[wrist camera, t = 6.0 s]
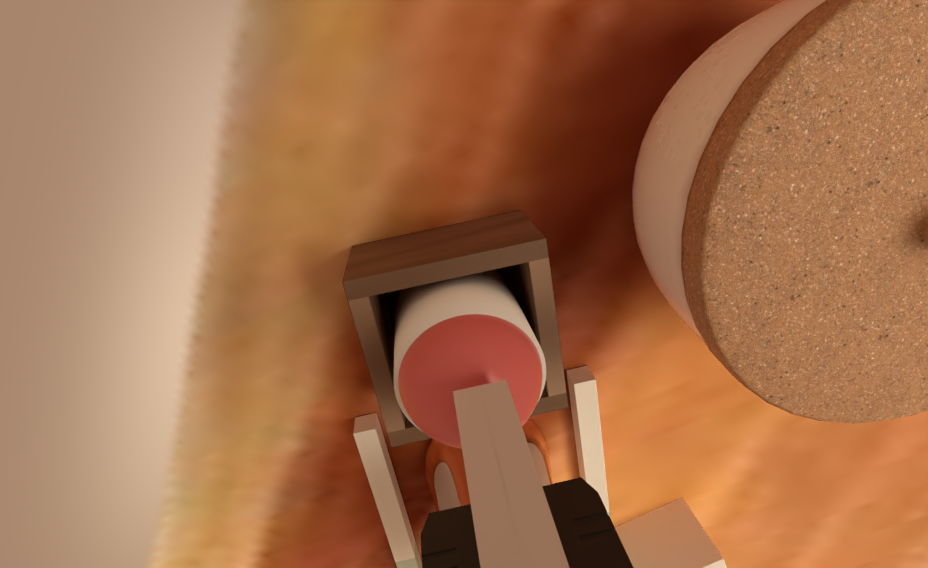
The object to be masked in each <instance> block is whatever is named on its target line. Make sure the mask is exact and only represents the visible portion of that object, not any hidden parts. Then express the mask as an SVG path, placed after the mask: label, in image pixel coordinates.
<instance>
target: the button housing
mask: <svg viewBox="0 0 928 568" xmlns="http://www.w3.org/2000/svg"><path fill="white" fill-rule="evenodd" d="M512 265H513V270H514V276H515V283H516V289H517V295H518V302H519V306H520V308H521V310H522V312H523V314H524V315H525V317H526V319H527V321H528V323H529V325H530V327H531V329H532V331H533V333H534V335H535V337H536V339H537V341H538V343H539V345H540V346H541V349H542V351H543V354H544V358H545V362H546V381H545V386H544V390H543V392H542V395H541V397H540V399H539V401H538V403H537V405H536V407H535V409H534V411H533V413H532V415H531V416H533V415H538V414H542V413H546V412H551V411H555V410H560V409H564V408H568V401H567V393H566V385H565V378H564V370H563V362H562V355H561V347H560V339H559V332H558V324H557V316H556V309H555V301H554V293H553V286H552V278H551V271H550V263H549V255H548V248H547V240H546V238H545V236H544V235H543V234H542V233H541V232H540V231H539V230H538V229H537V227H536V226H535V225H534V224H533V223H532V222H531V221H530V220H529V218H528V217H527V216H526V215H525V214H524V213H523V212H522V211H521V210H520V211H515V212H510V213H506V214H501V215H496V216H491V217H487V218H482V219H477V220H473V221H468V222H463V223H458V224H454V225H449V226H444V227H440V228H435V229H430V230H425V231H421V232H416V233H411V234H407V235H402V236H397V237H392V238H388V239H383V240H378V241H374V242H369V243H364V244H359V245H355V246H352V249H351V252H350V256H349V260H348V263H347V267H346V271H345V274H344V278H343V282H342V283H343V286H344V289H345V293H346V296H347V299H348V303H349V306H350V310H351V313H352V316H353V320H354V323H355V326H356V330H357V333H358V336H359V340H360V343H361V346H362V350H363V353H364V357H365V360H366V363H367V367H368V370H369V373H370V377H371V380H372V383H373V387H374V390H375V393H376V397H377V400H378V404H379V407H380V410H381V414H382V417H383V420H384V424H385V427H386V430H387V434H388V437H389V440H390V444H391V447H396V446H401V445H405V444H409V443H414V442H418V441H423V440H427V439H431V438H430V437H429V436H428V435H426V434H425V433H424V432H422V431H421V430H419V429H418V428H417V427H415V426H414V425H413V424H412V423H411V422H410V421H409V420H408V419H407V417H406V416H405V415H404V413H403V412H402V410H401V408H400V406H399V404H398V402H397V399H396V396H395V391H394V333H393V329H392V325H391V322H390V318H389V314H388V310H387V307H386V303H385V299H384V295H383V293H387V292H392V291H396V290H401V289H406V288H410V287H415V286H420V285H424V284H429V283H434V282H438V281H443V280H447V279H452V278H457V277H461V276H466V275H471V274H475V273H480V272H484V271H489V270H494V269H498V268H503V267H508V266H512Z"/></svg>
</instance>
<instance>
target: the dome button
mask: <svg viewBox="0 0 928 568" xmlns="http://www.w3.org/2000/svg"><path fill="white" fill-rule="evenodd" d="M502 380H507V383H508V386H509V389H510V392H511V395H512V398H513V401H514V404H515V407H516V410H517V413H518V416H519V419H520V422H521V425H522V426H523V425H524V424H525V423H526V422H527V420H528V419H529V418H530V416H531V415H532V413H533V411H534V409H535V407H536V405H537V403H538V401H539V399H540V397H541V395H542V392H543V390H544V386H545V381H546V362H545V358H544V354H543V351H542V349H541V346H540V345H539V343H538V341H537V339H536V337H535V335H534V333H533V331H532V329H531V327H530V325H529V323H528V321H527V319H526V317H525V315H524V314H523V312H522V310H521V308H520V306H519V304H518V302H517V300H516V298H515V296H514V294H513V292H512V290H511V288H510V287H509V285H508V283H507V282H506V280H505V279H504V278H503V277H502V276H501V275H500V274H499V273H498V272H497V271H496V270H495V269H494V270H489V271H484V272H480V273H475V274H471V275H466V276H461V277H457V278H452V279H447V280H443V281H438V282H434V283H429V284H424V285H420V286H415V287H410V288H406V289H402V290H401V292H400V294H399V297H398V299H397V303H396V308H395V334H394V391H395V396H396V399H397V402H398V404H399V406H400V408H401V410H402V412H403V413H404V415H405V416H406V417H407V419H408V420H409V421H410V422H411V423H412V424H413V425H414V426H415V427H417V428H418V429H419V430H421V431H422V432H424V433H425V434H426V435H428V436H429V437H430V438H432V439H434V440H436V441H437V442H440V443H442V444H445V445H447V446H451V447H454V448H460V449H462V446H461V440H460V433H459V427H458V421H457V414H456V408H455V402H454V395H453V391H457V390H461V389H466V388H470V387H475V386H479V385H484V384H488V383H493V382H498V381H502Z"/></svg>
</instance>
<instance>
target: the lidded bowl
mask: <svg viewBox="0 0 928 568" xmlns="http://www.w3.org/2000/svg"><path fill="white" fill-rule="evenodd" d="M632 203H633V221H634V226H635V231H636V237H637V242H638V246H639V248H640V251H641V253H642V256H643V259H644V261H645V264H646V266H647V268H648V270H649V272H650V274H651V276H652V278H653V280H654V282H655V283H656V285H657V286H658V288H659V290H660V291H661V293H662V295H663V296H664V298H665V299H666V301H667V302H668V303H669V305H670V306H671V307H672V309H673V310H674V311H675V313H676V314H677V315H678V316H679V317H680V318H681V319H682V320H683V322H684V323H685V324H686V325H687V326H688V327H689V328H690V329H691V330H692V331H693V332H694V333H695V334H696V335H697V336H698V337H699V338H700V339H701V340H702V341H703V342H704V343H705V344H706V345H707V346H708V348H709V350H710V351H711V352H712V353H713V354H714V356H715V357H716V358H717V359H718V360H719V361H720V362H721V363H722V364H723V365H724V366H725V368H726V369H727V370H728V371H729V372H730V373H731V374H732V375H733V376H734V377H735V378H736V379H737V380H738V381H739V382H741V383H742V384H743V385H744V386H745V387H746V388H748V389H749V390H751V391H752V392H753V393H755V394H756V395H758V396H759V397H760V398H762V399H763V400H764V401H766V402H767V403H769V404H771V405H774V406H776V407H778V408H780V409H782V410H785V411H787V412H789V413H791V414H795V415H799V416H803V417H807V418H811V419H815V420H819V421H831V422H843V423H862V422H875V421H884V420H890V419H895V418H900V417H906V416H911V415H915V414H918V413H920V412H923V411H926V410H928V0H784V1H782V2H780V3H778V4H776V5H774V6H772V7H771V8H769V9H767V10H765V11H763V12H761V13H759V14H757V15H755V16H754V17H752V18H750V19H749V20H747V21H745V22H743V23H742V24H740V25H738V26H737V27H735V28H734V29H733V30H731V31H730V32H729V33H727V34H726V35H724V36H723V37H722V38H720V39H719V40H718V41H716V42H715V43H713V44H712V45H711V46H710V47H709V48H708V49H707V50H706V51H705V52H704V53H703V54H702V55H701V56H700V57H699V58H698V59H697V60H696V61H694V62H693V63H692V64H691V65H690V66H689V67H688V69H687V70H686V71H685V72H684V73H683V74H682V75H681V77H680V78H679V79H678V80H677V82H676V83H675V84H674V85H673V87H672V88H671V89H670V90H669V92H668V93H667V94H666V96H665V97H664V99H663V101H662V102H661V104H660V106H659V107H658V109H657V111H656V112H655V114H654V116H653V117H652V120H651V122H650V124H649V127H648V129H647V131H646V134H645V136H644V138H643V140H642V143H641V147H640V150H639V154H638V158H637V161H636V165H635V171H634V179H633V187H632Z"/></svg>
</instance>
